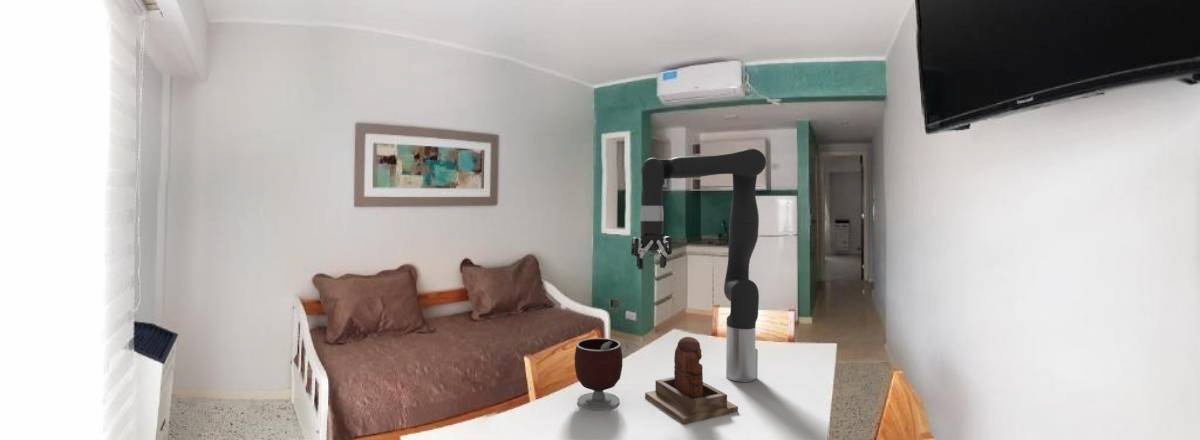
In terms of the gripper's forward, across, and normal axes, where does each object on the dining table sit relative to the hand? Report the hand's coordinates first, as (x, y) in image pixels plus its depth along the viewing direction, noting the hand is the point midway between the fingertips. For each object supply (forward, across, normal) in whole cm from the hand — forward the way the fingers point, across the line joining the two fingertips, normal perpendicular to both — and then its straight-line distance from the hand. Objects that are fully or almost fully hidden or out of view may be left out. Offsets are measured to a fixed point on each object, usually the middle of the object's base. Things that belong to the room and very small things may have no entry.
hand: (651, 268), depth 166 cm
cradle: (+36, +2, +25) cm, 44 cm away
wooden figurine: (+35, +2, +25) cm, 43 cm away
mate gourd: (+36, +25, +12) cm, 46 cm away
